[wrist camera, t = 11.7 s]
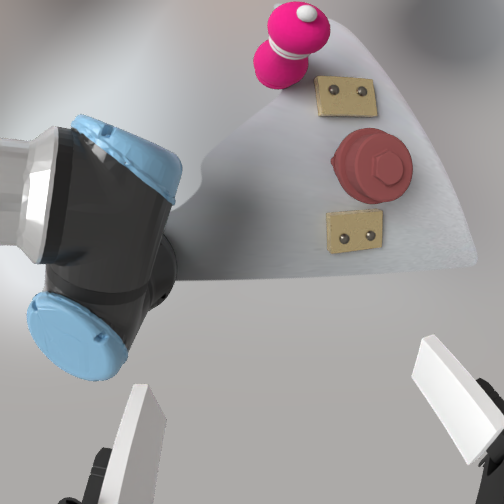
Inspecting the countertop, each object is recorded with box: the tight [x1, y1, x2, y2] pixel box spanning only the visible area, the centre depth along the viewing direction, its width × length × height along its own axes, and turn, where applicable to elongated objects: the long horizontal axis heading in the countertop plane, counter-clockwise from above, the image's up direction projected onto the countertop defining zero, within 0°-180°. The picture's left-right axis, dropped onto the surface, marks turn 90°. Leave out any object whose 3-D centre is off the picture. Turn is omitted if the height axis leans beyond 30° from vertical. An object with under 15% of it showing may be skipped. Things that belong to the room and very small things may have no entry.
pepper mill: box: [253, 2, 330, 89], centre depth 25 cm, size 7×7×20 cm
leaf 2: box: [314, 76, 377, 117], centre depth 35 cm, size 9×6×2 cm, turn 96°
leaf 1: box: [326, 209, 383, 254], centre depth 42 cm, size 9×6×2 cm, turn 96°
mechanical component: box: [331, 128, 413, 204], centre depth 34 cm, size 12×10×10 cm
